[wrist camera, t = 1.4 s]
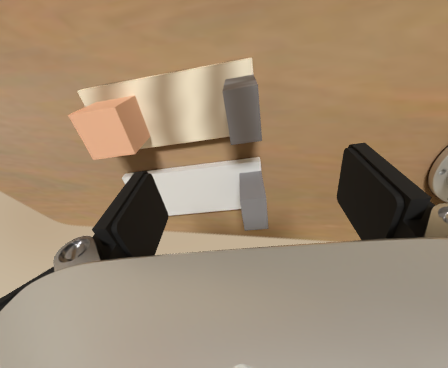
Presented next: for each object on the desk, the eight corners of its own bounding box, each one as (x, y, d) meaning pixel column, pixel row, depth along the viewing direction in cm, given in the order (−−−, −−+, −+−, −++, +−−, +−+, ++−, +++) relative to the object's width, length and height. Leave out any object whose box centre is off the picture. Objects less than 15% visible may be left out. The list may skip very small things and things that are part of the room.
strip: (259, 156, 30) (265, 187, 24) (263, 201, 34) (268, 236, 28) (125, 173, 32) (100, 204, 26) (145, 213, 37) (127, 247, 31)
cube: (135, 95, 25) (114, 107, 21) (150, 136, 27) (135, 154, 23) (95, 102, 25) (68, 115, 21) (114, 141, 28) (93, 159, 24)
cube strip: (251, 57, 23) (256, 64, 17) (257, 129, 27) (262, 154, 21) (83, 88, 26) (37, 104, 20) (113, 149, 30) (83, 177, 24)
